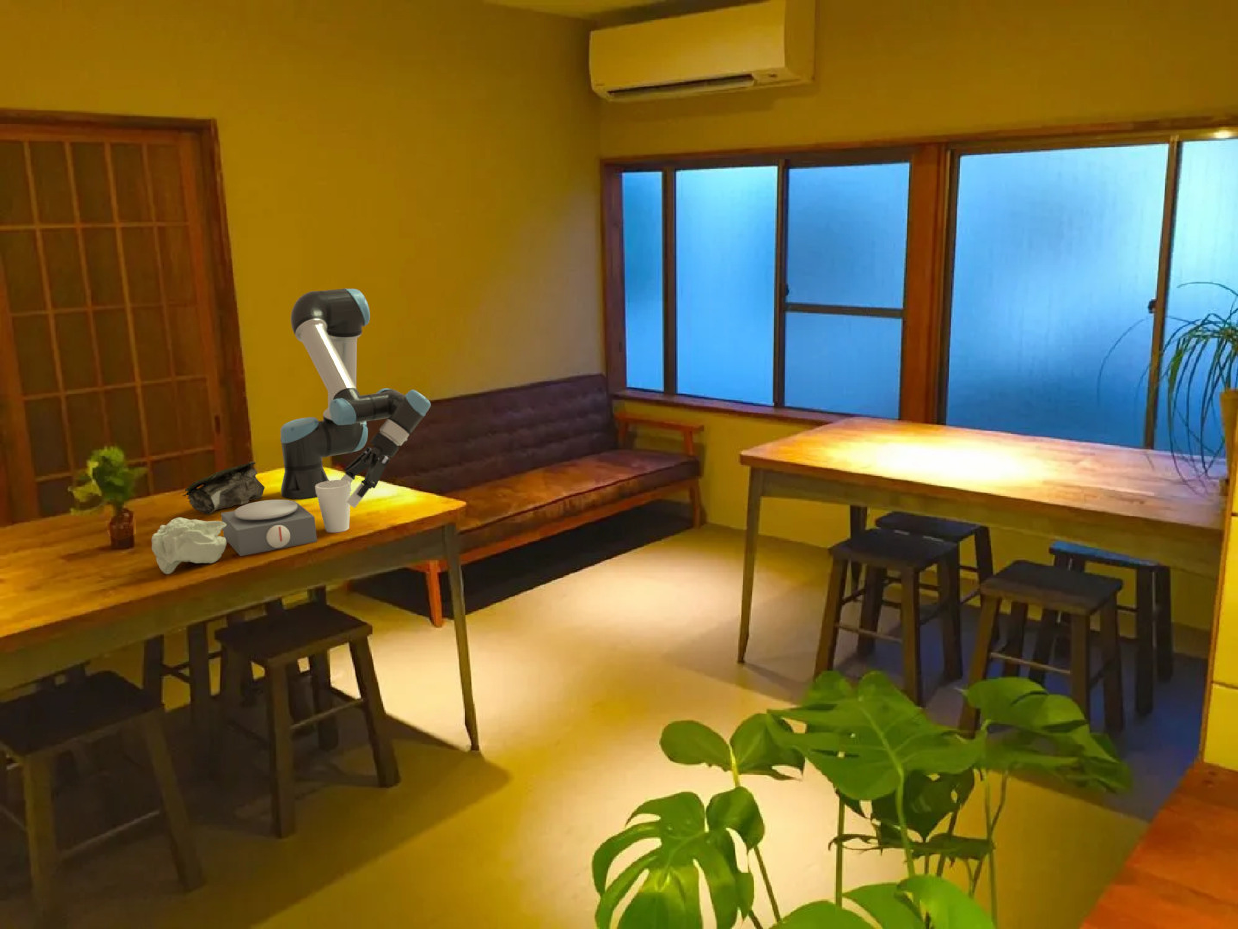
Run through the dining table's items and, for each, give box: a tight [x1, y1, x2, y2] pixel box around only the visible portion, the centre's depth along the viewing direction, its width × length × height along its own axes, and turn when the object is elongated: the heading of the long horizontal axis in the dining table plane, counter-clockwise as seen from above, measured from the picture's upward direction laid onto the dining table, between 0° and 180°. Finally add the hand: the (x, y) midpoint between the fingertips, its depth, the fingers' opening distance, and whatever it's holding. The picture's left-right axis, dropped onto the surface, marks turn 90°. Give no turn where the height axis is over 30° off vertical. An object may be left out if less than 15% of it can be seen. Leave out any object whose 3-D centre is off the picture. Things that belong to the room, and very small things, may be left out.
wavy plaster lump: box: [151, 516, 227, 575], centre depth 259 cm, size 18×13×16 cm
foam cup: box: [315, 479, 352, 533], centre depth 286 cm, size 10×9×13 cm
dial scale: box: [220, 499, 318, 557], centre depth 279 cm, size 21×20×9 cm
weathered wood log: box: [182, 461, 265, 516], centre depth 313 cm, size 28×13×15 cm
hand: (342, 500), depth 286 cm, fingers open, 13 cm apart
